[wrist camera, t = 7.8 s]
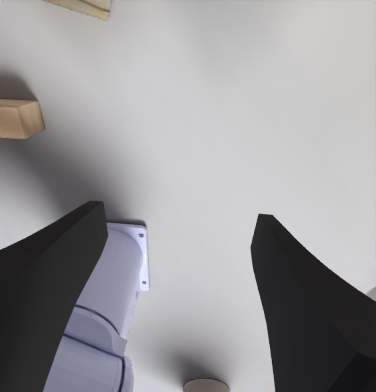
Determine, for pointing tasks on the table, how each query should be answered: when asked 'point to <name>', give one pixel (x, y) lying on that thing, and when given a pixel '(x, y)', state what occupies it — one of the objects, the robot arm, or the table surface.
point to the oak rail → (20, 118)
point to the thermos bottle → (205, 386)
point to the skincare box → (86, 7)
